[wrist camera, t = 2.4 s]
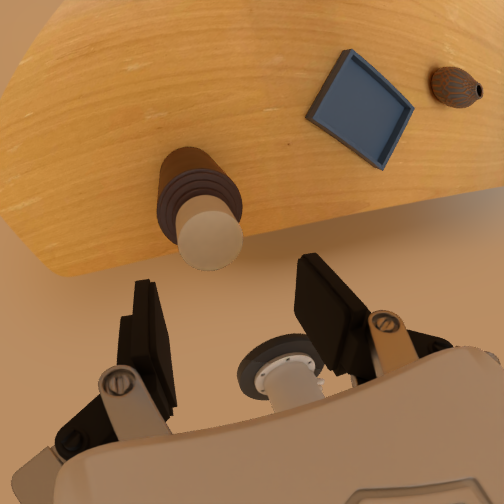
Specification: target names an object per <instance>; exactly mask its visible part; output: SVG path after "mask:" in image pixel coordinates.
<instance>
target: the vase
mask: <svg viewBox="0 0 504 504" xmlns="http://www.w3.org/2000/svg"><path fill="white" fill-rule="evenodd" d="M431 85H432V90H433V92H434V94H435V96H436V97H437V98H438V99H439V100H440V101H441V102H442V103H444V104H445V105H447V106H450V107H453V108H466V107H469V106H471V105H472V104H473V103H474V102H475V101H476V100H478V99H481V98H482V97H483V88H482V86H481V84H480V83H478V82H477V81H475V80H474V79H473V78H472V76H471V75H469V74H468V73H467V72H466V71H464V70H462V69H460V68H456V67H443V68H440V69H439V70H437V71H436V72H435V73H434V75H433V77H432V81H431Z"/></svg>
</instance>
